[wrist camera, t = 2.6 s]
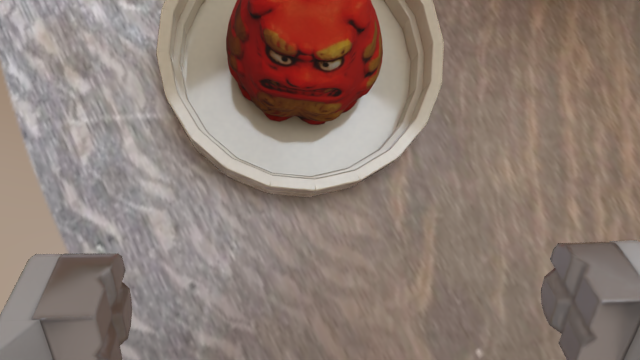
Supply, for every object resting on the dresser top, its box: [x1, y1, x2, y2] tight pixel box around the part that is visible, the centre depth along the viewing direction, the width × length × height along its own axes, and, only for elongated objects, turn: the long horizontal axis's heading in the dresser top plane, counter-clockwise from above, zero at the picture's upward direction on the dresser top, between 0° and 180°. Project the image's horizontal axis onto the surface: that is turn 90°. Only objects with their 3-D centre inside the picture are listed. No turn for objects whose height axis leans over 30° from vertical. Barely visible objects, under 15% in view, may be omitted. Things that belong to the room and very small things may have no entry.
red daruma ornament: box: [226, 0, 383, 125], centre depth 25 cm, size 8×7×15 cm
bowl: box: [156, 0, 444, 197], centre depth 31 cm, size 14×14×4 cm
